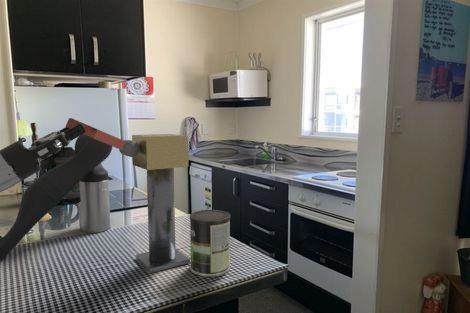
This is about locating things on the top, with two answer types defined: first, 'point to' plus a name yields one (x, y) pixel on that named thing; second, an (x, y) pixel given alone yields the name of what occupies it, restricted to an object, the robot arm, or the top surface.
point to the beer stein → (59, 159)
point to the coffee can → (210, 242)
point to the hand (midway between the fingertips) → (79, 127)
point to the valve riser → (161, 197)
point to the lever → (108, 139)
